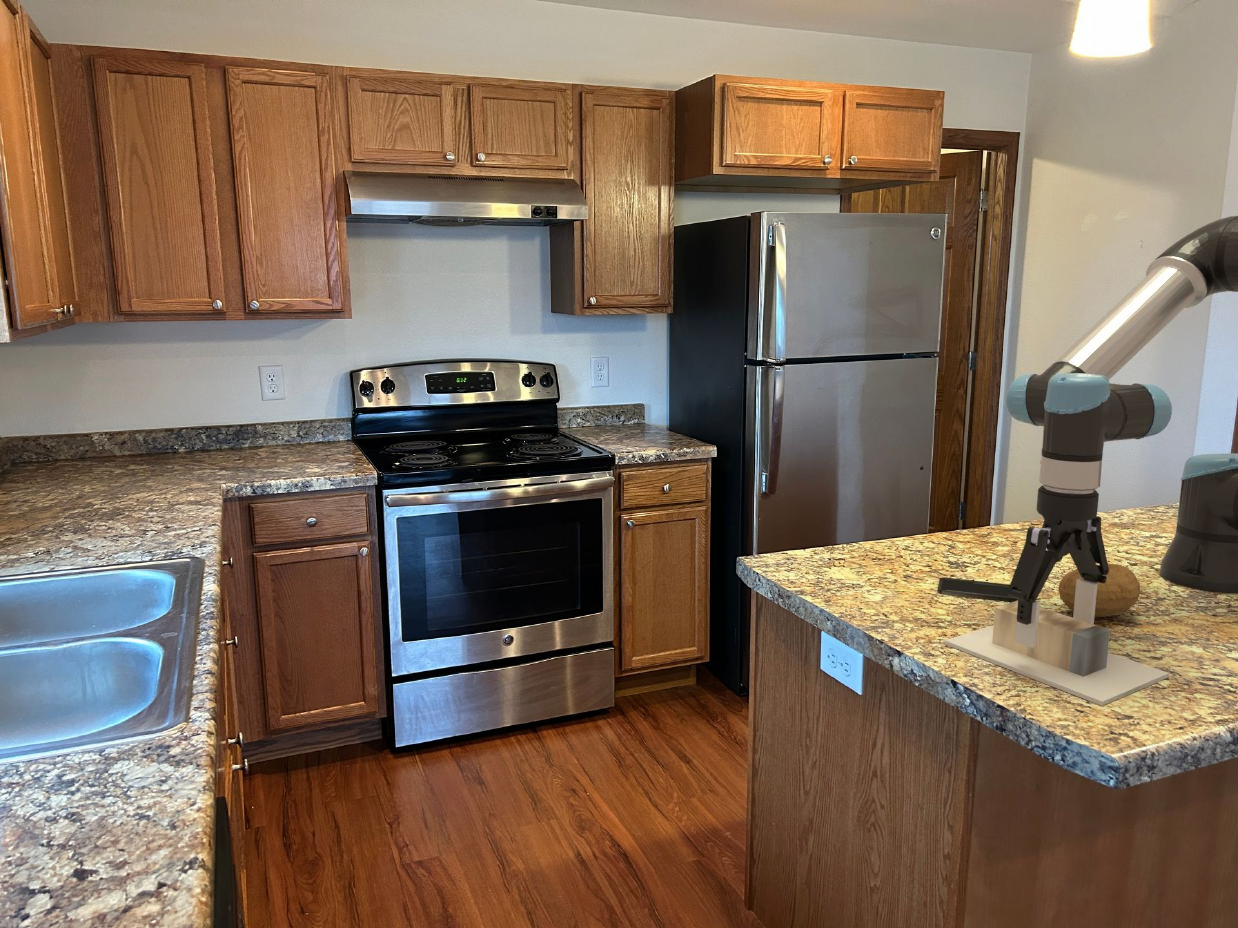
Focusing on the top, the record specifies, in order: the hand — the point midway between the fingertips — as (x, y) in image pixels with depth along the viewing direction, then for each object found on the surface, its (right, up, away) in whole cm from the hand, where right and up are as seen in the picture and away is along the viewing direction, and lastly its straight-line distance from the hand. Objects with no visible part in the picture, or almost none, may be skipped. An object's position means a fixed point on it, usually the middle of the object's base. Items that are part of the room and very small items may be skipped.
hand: (1055, 634), depth 130 cm
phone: (+2, +1, +29) cm, 29 cm away
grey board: (0, -4, +1) cm, 4 cm away
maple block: (-4, +1, +6) cm, 8 cm away
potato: (+15, -1, +18) cm, 23 cm away
